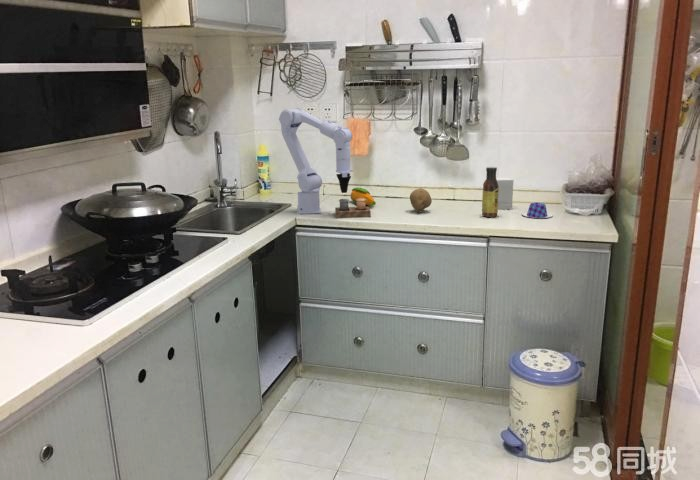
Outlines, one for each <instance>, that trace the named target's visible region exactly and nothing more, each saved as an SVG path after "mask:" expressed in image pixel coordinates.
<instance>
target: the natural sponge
mask: <svg viewBox="0 0 700 480" xmlns="http://www.w3.org/2000/svg"><path fill="white" fill-rule="evenodd" d="M409 201H410V204H411V206H412V208H413V210H415V211H416V212H417V213H422V212H423V211H424V210H425V209H427V208H429V207H430V206H431V205H432V202H433V201H432V198H431V195H430V193H429V191H427V190H426V189H424V188H423V187H421V188H417V189H414V190H413V191H412V192H411V193H410V195H409Z"/></svg>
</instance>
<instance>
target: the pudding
mask: <svg viewBox="0 0 700 480" xmlns="http://www.w3.org/2000/svg"><path fill="white" fill-rule="evenodd" d="M521 215H522V216H524V217H527V218H531V219H532V218H533V219H546V218H551V217H553V214H552V213H550V212H547V206H546V204H545V203H543V202H531V203H530V204H529V206H528V210H527V211H524V212H523V211H522V213H521Z"/></svg>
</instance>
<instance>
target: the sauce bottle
mask: <svg viewBox="0 0 700 480" xmlns="http://www.w3.org/2000/svg"><path fill="white" fill-rule="evenodd" d="M485 169H486V170H485V171H486V176H485V177H486V179H485V180H484V182H483V184H482V186H483V188H482V198H481V199H482V200H481V201H482V202H481V203H482V204H481V212H482V213H481V215H482V217H486V218H496V217H497V216H498V210H499V209H498V194H499V186H498V183H497V180H496V178H497V171H498V167H496V166H486V168H485Z"/></svg>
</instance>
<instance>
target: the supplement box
mask: <svg viewBox="0 0 700 480" xmlns="http://www.w3.org/2000/svg"><path fill="white" fill-rule="evenodd" d="M496 180H497V183H498V186H499V194H498V210H512V209H513V199H514V198H513V195H514V179H512V178H511V177H496Z"/></svg>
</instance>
